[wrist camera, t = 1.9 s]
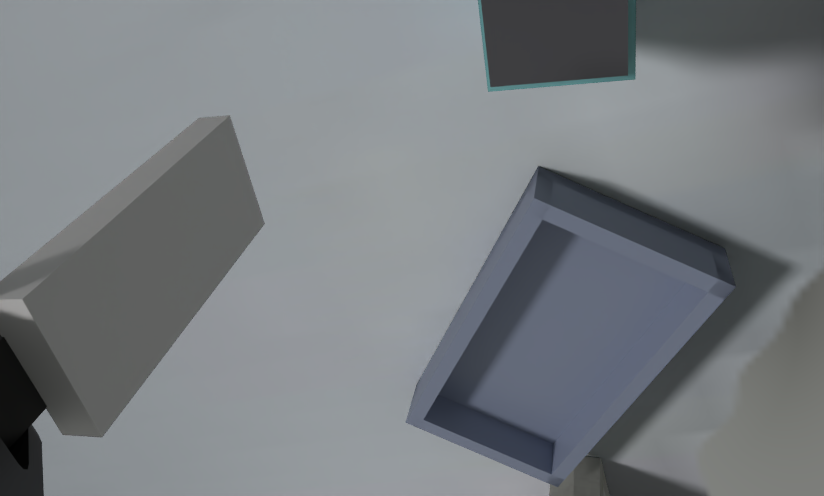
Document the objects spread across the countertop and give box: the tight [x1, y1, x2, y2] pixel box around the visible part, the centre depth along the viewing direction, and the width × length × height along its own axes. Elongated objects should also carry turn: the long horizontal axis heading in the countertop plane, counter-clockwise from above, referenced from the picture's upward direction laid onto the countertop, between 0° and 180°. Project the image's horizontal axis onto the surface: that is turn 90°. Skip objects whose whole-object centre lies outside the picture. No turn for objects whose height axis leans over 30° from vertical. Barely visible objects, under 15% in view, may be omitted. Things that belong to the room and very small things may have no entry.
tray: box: [406, 166, 736, 487], centre depth 35 cm, size 17×10×3 cm, turn 160°
